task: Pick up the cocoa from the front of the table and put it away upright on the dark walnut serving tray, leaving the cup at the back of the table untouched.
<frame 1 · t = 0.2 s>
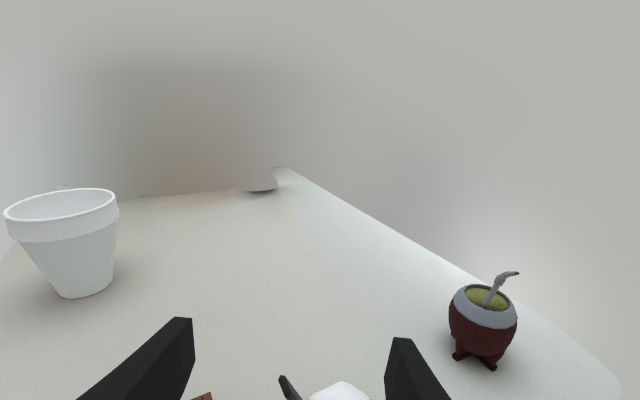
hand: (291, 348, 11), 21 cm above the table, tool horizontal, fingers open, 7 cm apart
mate gourd: (473, 355, 38), on the table
cup: (87, 285, 48), on the table
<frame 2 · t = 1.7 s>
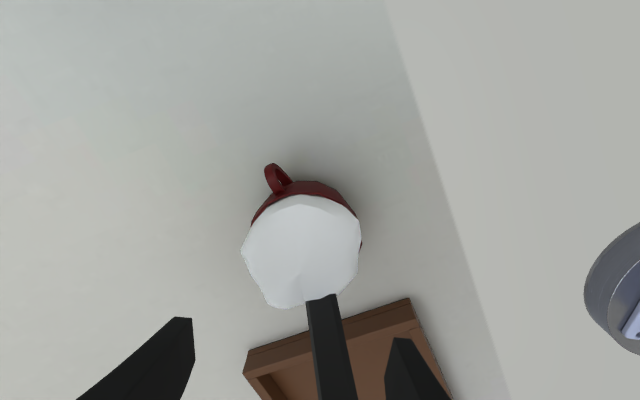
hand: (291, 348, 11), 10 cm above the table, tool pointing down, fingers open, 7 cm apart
tray: (364, 393, 27), on the table
cocoa: (309, 219, 21), on the table
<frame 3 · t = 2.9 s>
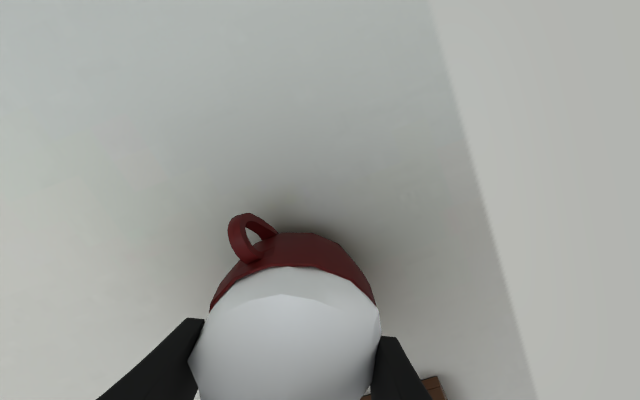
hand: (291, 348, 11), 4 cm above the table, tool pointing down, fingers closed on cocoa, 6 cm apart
cocoa: (302, 278, 15), on the table, touching gripper
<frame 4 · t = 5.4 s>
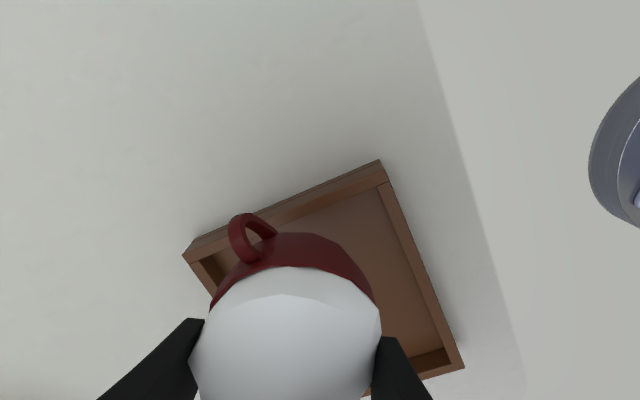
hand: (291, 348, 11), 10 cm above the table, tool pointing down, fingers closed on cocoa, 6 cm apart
tray: (333, 295, 23), on the table
cocoa: (302, 277, 15), point 6 cm above the table, touching gripper
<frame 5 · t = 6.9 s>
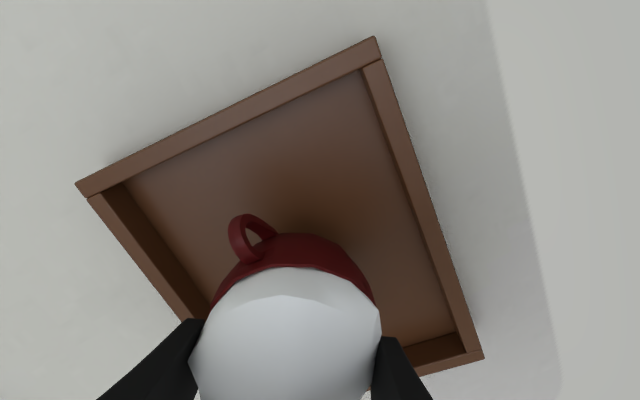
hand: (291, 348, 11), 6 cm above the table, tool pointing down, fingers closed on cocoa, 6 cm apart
tray: (304, 256, 17), on the table
cocoa: (302, 278, 15), point 2 cm above the table, touching gripper
when the fingers open (5 cm above the table, at t = 8.0 s): cocoa stays where it is, resting on tray.
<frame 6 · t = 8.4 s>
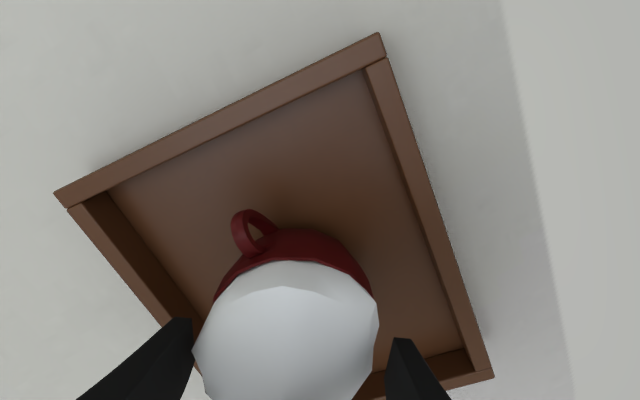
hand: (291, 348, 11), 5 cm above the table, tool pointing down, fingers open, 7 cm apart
tray: (302, 268, 16), on the table
cocoa: (303, 273, 15), resting on tray
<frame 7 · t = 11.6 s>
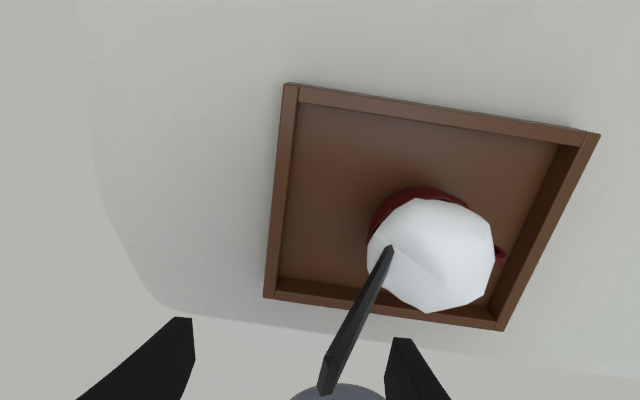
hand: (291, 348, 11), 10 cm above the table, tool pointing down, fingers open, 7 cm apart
tray: (402, 212, 20), on the table
cocoa: (403, 215, 20), resting on tray
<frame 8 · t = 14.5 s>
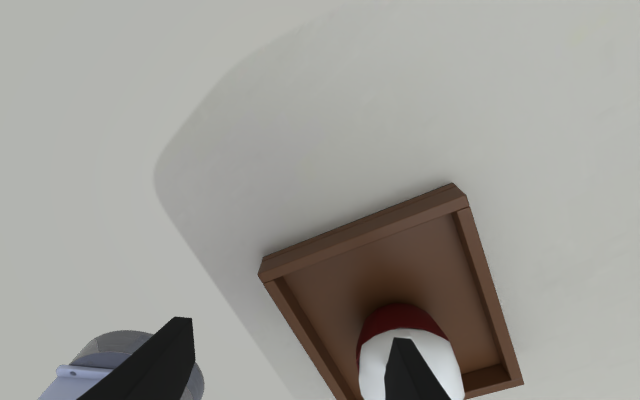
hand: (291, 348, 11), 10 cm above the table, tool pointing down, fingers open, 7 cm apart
tray: (394, 312, 23), on the table
cocoa: (394, 315, 23), resting on tray
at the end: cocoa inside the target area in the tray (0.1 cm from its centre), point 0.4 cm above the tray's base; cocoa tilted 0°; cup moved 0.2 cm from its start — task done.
